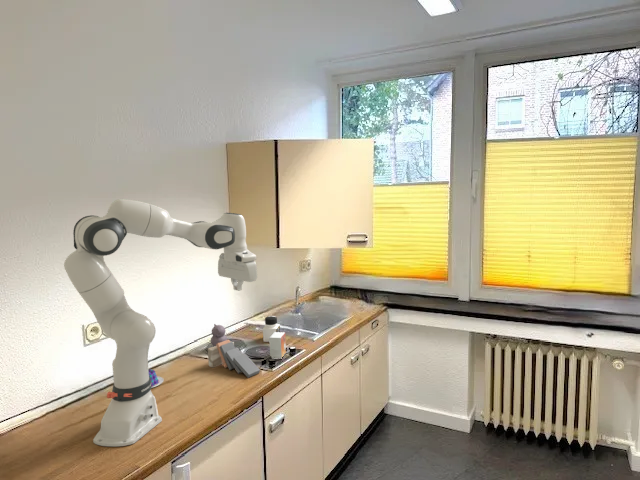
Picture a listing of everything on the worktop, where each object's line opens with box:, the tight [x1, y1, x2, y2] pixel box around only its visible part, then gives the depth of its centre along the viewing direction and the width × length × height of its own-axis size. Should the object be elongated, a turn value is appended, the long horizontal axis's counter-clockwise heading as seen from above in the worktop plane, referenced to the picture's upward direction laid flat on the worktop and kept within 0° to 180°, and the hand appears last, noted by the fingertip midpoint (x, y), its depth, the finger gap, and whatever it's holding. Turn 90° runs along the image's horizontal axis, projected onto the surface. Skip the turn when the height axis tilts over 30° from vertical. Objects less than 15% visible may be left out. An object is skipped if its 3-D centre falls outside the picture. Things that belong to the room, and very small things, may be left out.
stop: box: [207, 340, 235, 368], centre depth 201 cm, size 3×12×8 cm, turn 138°
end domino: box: [216, 339, 231, 369], centre depth 199 cm, size 2×6×11 cm, turn 137°
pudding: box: [148, 368, 164, 389], centre depth 183 cm, size 12×12×5 cm
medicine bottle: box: [262, 315, 281, 343], centre depth 229 cm, size 7×7×12 cm
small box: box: [268, 331, 287, 360], centre depth 206 cm, size 8×6×10 cm
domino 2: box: [225, 347, 243, 375], centre depth 194 cm, size 2×6×11 cm
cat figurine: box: [210, 323, 228, 347], centre depth 217 cm, size 8×8×12 cm
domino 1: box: [220, 341, 236, 371], centre depth 197 cm, size 2×6×11 cm
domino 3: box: [233, 353, 261, 379], centre depth 190 cm, size 2×6×11 cm
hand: (237, 290), depth 173 cm, fingers closed
